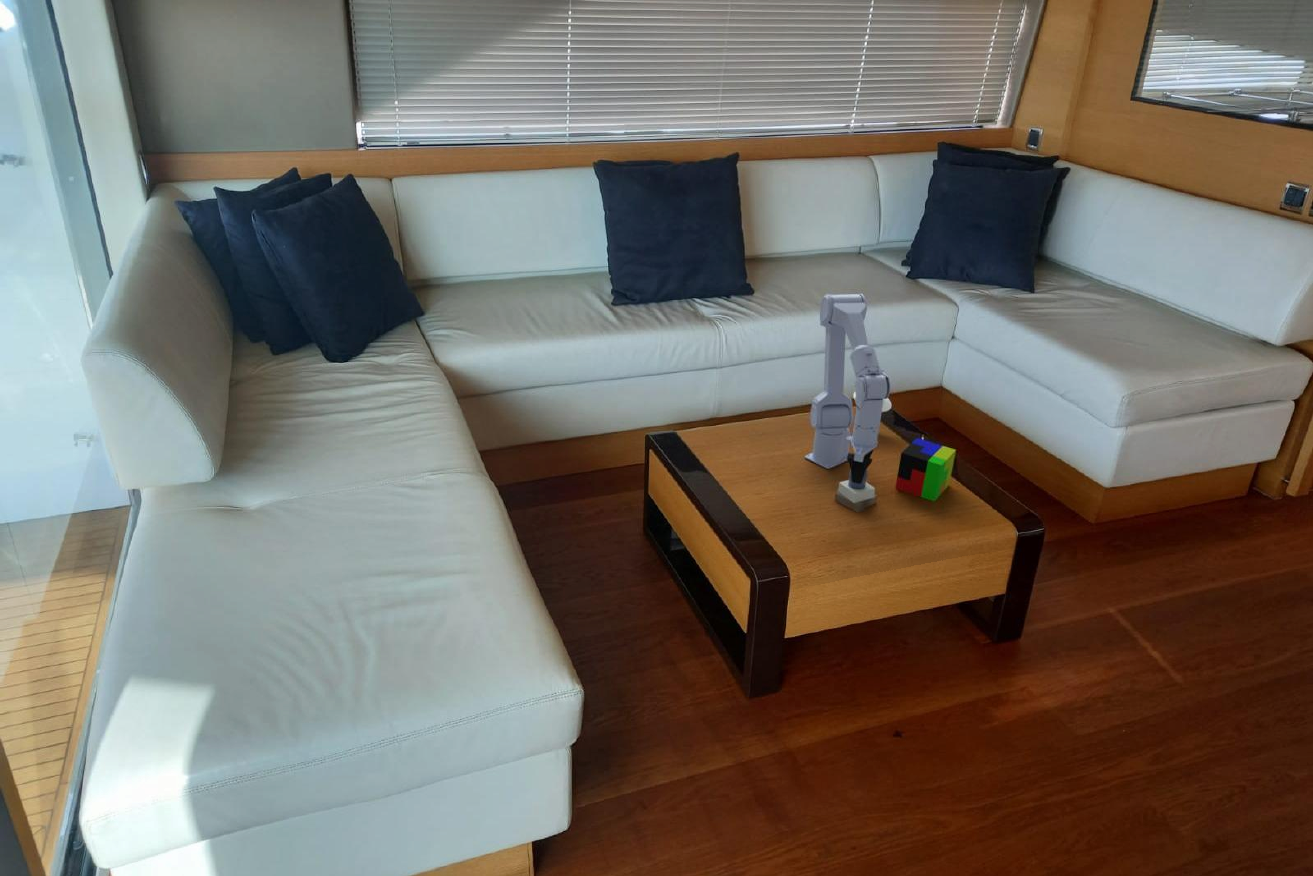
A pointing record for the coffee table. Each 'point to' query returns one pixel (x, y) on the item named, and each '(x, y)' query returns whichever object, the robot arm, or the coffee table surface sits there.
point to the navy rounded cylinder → (856, 485)
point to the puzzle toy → (925, 469)
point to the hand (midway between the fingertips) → (859, 475)
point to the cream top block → (856, 492)
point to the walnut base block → (855, 506)
